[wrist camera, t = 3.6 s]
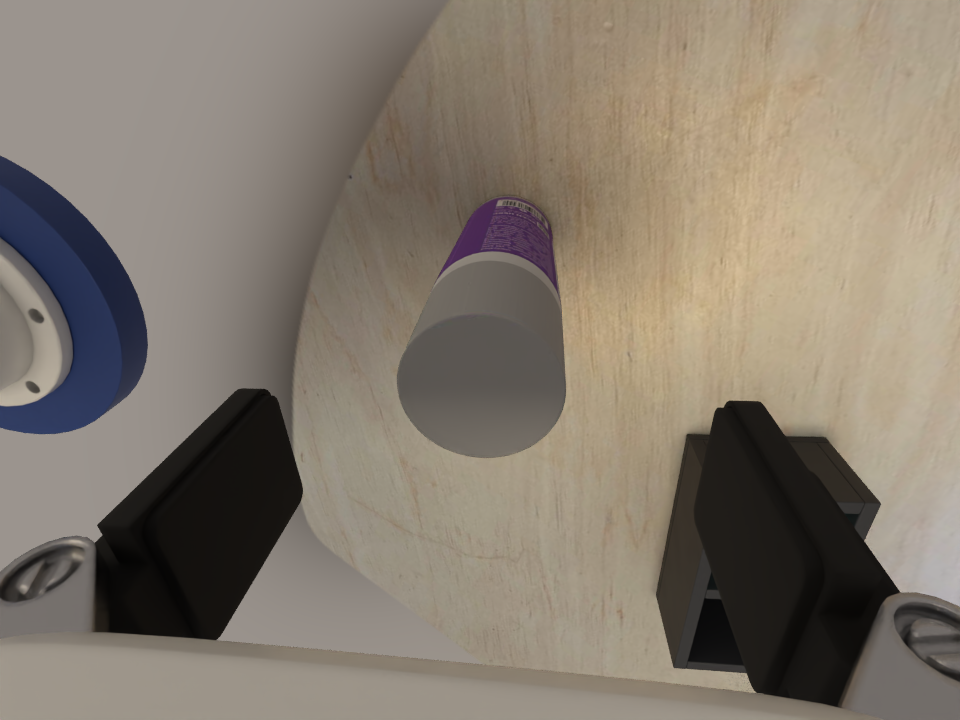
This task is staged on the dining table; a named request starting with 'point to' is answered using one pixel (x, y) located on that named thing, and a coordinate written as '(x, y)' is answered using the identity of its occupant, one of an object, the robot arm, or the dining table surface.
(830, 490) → the dark grey divided box
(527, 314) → the container
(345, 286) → the dining table surface
